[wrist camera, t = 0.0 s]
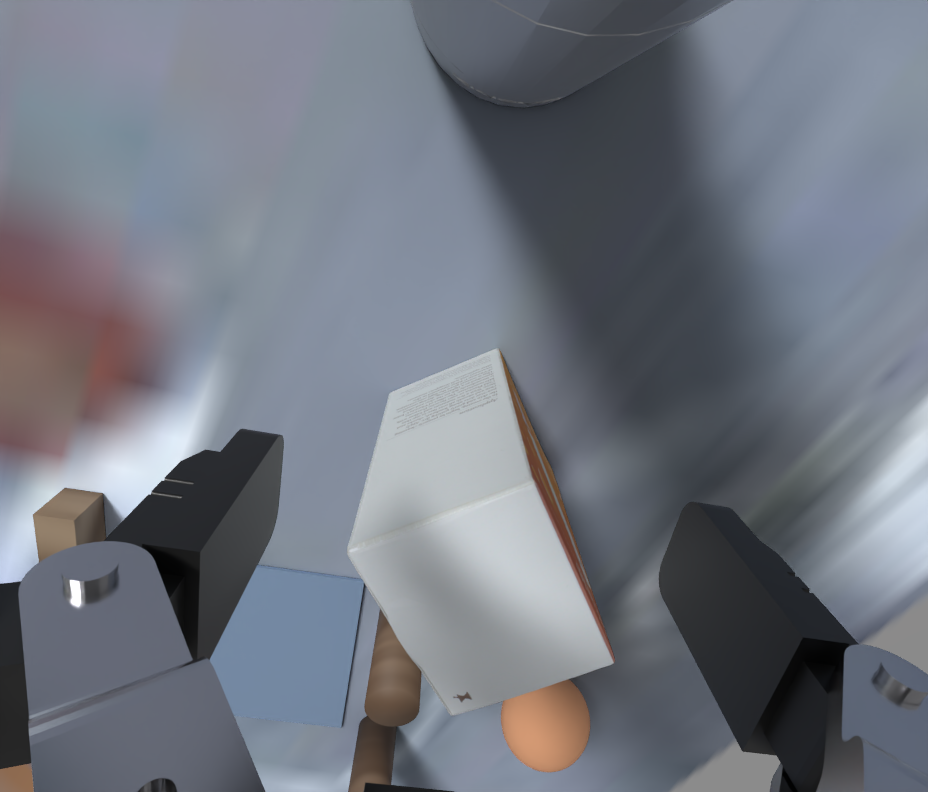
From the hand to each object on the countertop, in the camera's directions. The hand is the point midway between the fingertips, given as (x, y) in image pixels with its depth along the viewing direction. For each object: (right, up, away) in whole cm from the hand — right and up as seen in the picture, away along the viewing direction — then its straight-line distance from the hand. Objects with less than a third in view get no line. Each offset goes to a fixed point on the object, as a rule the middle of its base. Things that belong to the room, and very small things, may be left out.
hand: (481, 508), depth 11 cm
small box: (0, 0, +19) cm, 19 cm away
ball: (+5, -18, +23) cm, 30 cm away
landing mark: (-14, -14, +24) cm, 31 cm away
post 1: (-4, -9, +23) cm, 25 cm away
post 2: (-6, -21, +27) cm, 35 cm away
